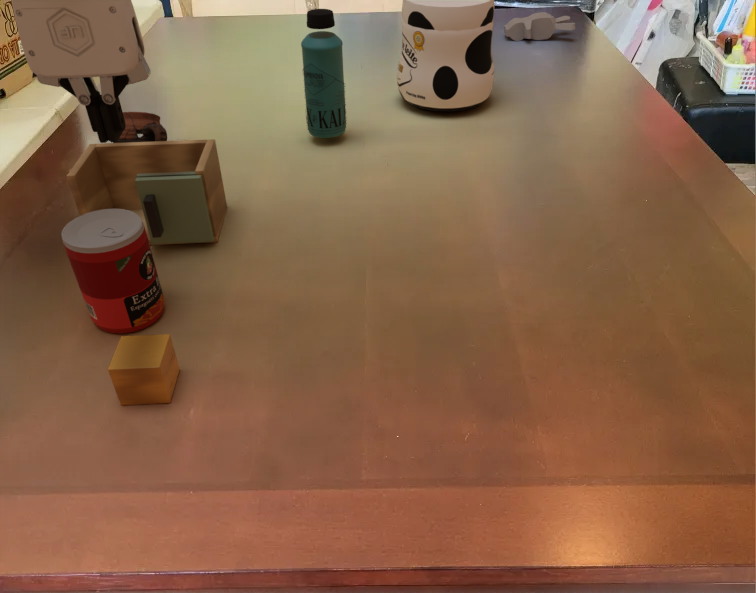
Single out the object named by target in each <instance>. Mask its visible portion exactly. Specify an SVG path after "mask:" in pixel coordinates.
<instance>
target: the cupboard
mask: <svg viewBox="0 0 756 593" xmlns="http://www.w3.org/2000/svg"><path fill="white" fill-rule="evenodd" d="M193 175H201V177H202V182H203V187H204V192H205V197H206V202H207V207H208V212H209V216H210V221H211V226H212V231H213V236H214V240H213V242H194V243H193V244H210V243H219V239H220V235H221V232H222V228H223V224H224V221H225V217H226V213H227V210H228V203H227V198H226V193H225V187H224V180H223V175H222V171H221V164H220V161H219V153H218V148H217V142H216V139H187V140H186V139H185V140H184V139H183V140H167V141H155V142H128V143H113V142H106V143H89V144H88V146H87V147H86V148H85V150H83V152H82V154H81V155H80V156H79V158H78V159H77V160H76V162H75V164H74V165H73V166H72V168H71V169H70V170H69V172H68V173H67V174H66V180H67V182H68V185H69V188H70V191H71V194H72V198H73V200H74V203H75V206H76V209H77V212H78V215H79V216H81V215H84V214H86V213H89V212H93V211H97V210H103V209H125V210H130V211H132V212H135V213H136V214H138V215H139V216H140V217H141V219H142V222H143V224H144V227H145V230H146V233H147V237H148V241H149V244H150V246H159V245H160V246H161V245H162V246H163V245H166V244H152V243H151V239H150V235H149V232H148V228H147V224H146V221H145V217H144V213H143V209H142V206H141V202H140V198H139V195H138V191H137V187H136V184H135V179H136V178H141V177H167V176H193ZM186 244H190V243H170V244H169V245H186Z"/></svg>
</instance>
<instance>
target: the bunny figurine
mask: <svg viewBox="0 0 756 593" xmlns="http://www.w3.org/2000/svg"><path fill="white" fill-rule="evenodd" d="M570 21H571V16H570V15H562V16H559V17H555V16H553V15H552V14H551V13H549V12H545V11H544V12H542V11H541V12H534V13H532V14H530V15H528V16H524V17H514V18H512V19H511V20H509V21H508V23H507V24H504V25H503V32H504V34H505V37H507V38H508V37H509V38H510V39H511V40H513V41H516V42H519V41H522V40H524V39H528V40H534V41H543V40H546V41H547V40H549V39H550V38H551V37H552V35H553V34H554V32H555V31H556V30H558V31H559V30H560V31H575V30H576V23H575V22H570Z"/></svg>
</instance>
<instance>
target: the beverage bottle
mask: <svg viewBox="0 0 756 593" xmlns="http://www.w3.org/2000/svg"><path fill="white" fill-rule="evenodd" d="M334 15H335V14H334V11H333V10H331V9H330V8H329V9H328V8H313V9H309V10H308V11H306V27H307V28H308V29H310V30H318V31H312V32H309V33H308V34H307V35H306V36H305V37H304V38H303V39H302V40H301V42H300V47H301V55H302V76H303V88H304V90H303V91H304V99H305V109H304V110H305V112H306V115H305V119H306V125H307V130H308V133H309V135H311V136H312V137H315V138H319V139H331V138H337V137H339V136H341V135H343V134H344V133H345V132H346V129H347V125H348V123H347V118H348V116H347V109H346V106H347V103H346V94H347V93H346V85H345V76H344V75H345V74H344V57H343V56H344V54H343V40H342V39H341V38H340V37H339V36H338V35H337V34H336V33H334V32H332V31H328V29H331V28H333V27H336V26H335V25H336V24H335V23H336V22H335V16H334ZM326 30H327V31H326Z"/></svg>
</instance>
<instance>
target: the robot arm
mask: <svg viewBox="0 0 756 593" xmlns="http://www.w3.org/2000/svg"><path fill="white" fill-rule="evenodd" d="M11 6H12V10H13V11H12V12H13V15H14V20H15V24H16V28H17V32H18V36H19V40H20V43H21V47H22V50H23V54H24V57H25V60H26V63H27V65H28V68H29V70H30V71H31V72H32V73H33V74H34V75H36V79H37V81H38V82H39V83H40V84H41V85H46V86H51V87H57V88H62V89H64V90H65V91H66V92H68V93H69V94H71V95H72V96H74V97H75V98H76V99H77V101H78V103H79V104H80V105H82V106H84V107H85V111H86V113H87V117H88V121H89V123H90V127H91V130H92V132H93V133H96V134H97V137H98V141H99V144H102V143H108V142H109V143H113V142H117V141H118V139H119V138H120V136H121V134H122V133H123V131H124V130H125V127H126V124H125V119H124V115H123V112H124V111H123V109H122V103H121V100H120V97H119V96H120V95H121V94H122V92H123V91H124V90H125V88H126V87H127V86H128V85H134V84H136V83H140V82H143V81H146V80H148V78H149V77H150V75H151V73H152V71H151V68H150V66H149V64H148V62H147V60H146V58H145V45H144V41H143V40H144V39H143V35H142V31H141V28H140V24H139V21H138V16H137V14H136V11H135V7H134V4H133V2H132V0H11ZM94 78H99V84H100V91H99V89H98V87H97V84H96V81H95V80H94Z"/></svg>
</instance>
